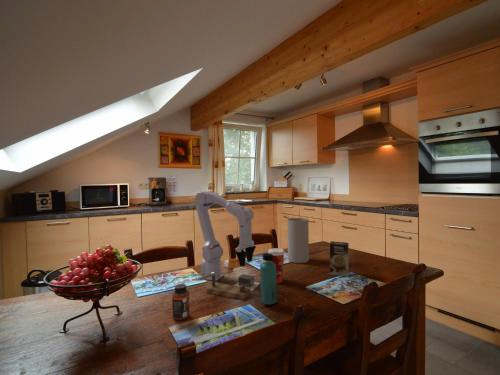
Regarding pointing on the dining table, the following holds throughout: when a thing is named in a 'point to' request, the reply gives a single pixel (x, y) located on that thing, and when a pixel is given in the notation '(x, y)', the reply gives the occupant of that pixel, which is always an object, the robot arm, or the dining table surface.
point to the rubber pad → (250, 287)
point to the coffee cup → (278, 262)
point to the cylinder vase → (298, 240)
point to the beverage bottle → (268, 280)
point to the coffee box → (339, 258)
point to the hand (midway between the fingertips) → (246, 263)
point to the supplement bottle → (180, 302)
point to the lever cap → (246, 280)
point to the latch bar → (207, 275)
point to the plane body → (228, 290)
